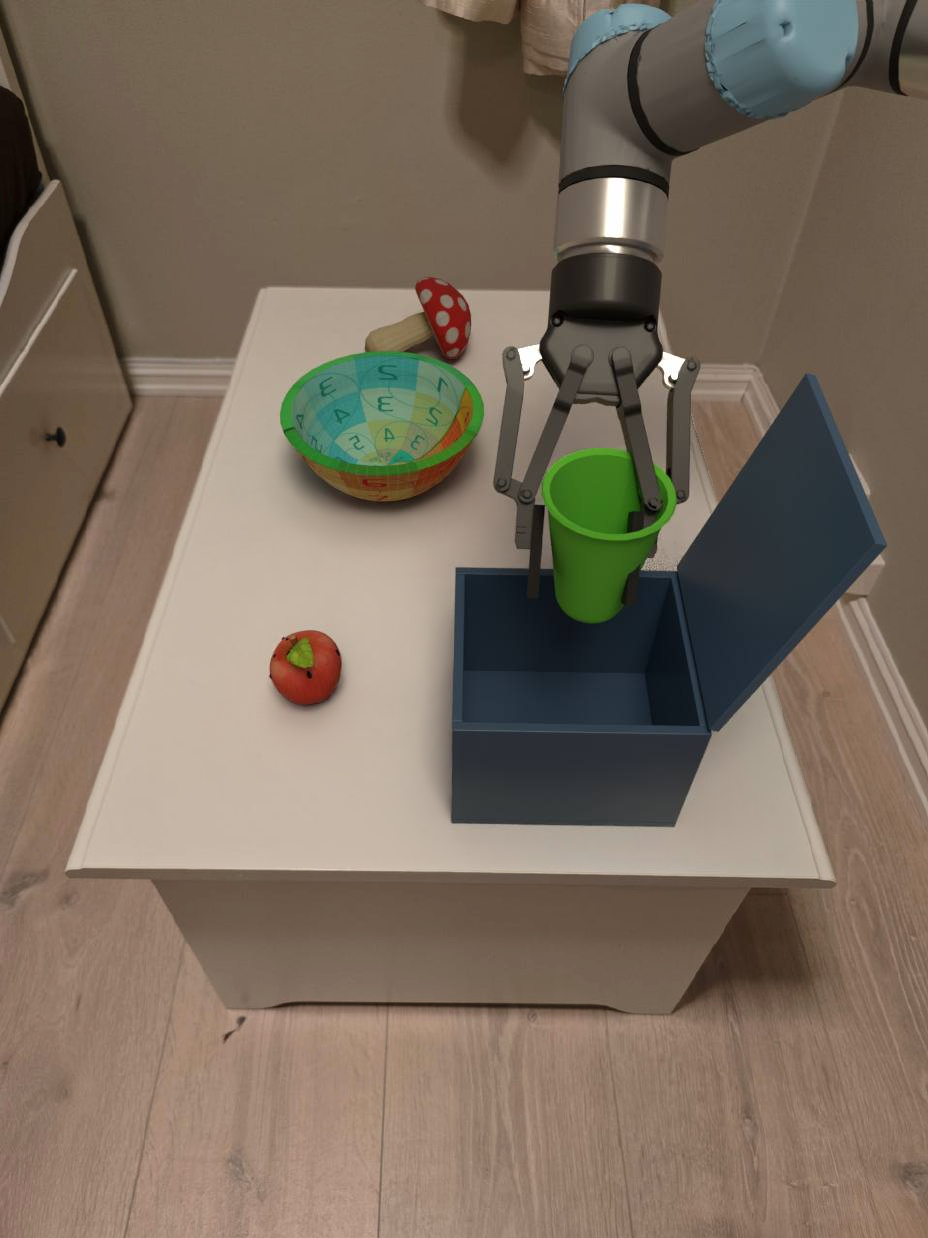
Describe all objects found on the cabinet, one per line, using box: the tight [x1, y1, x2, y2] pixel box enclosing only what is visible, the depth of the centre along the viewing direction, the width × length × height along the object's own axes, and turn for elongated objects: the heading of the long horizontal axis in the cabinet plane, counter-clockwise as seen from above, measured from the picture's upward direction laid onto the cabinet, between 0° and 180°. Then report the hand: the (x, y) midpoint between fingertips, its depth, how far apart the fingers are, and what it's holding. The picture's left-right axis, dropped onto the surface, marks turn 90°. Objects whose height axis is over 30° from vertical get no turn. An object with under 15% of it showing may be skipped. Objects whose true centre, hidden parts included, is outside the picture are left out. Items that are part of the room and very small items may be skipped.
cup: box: [540, 447, 678, 623], centre depth 64 cm, size 9×9×11 cm
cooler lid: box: [676, 372, 888, 733], centre depth 63 cm, size 20×17×1 cm
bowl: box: [279, 351, 485, 502], centre depth 101 cm, size 22×22×10 cm
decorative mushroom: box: [364, 276, 472, 360], centre depth 119 cm, size 11×11×15 cm
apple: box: [268, 629, 343, 706], centre depth 81 cm, size 8×7×10 cm
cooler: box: [450, 566, 713, 828], centre depth 76 cm, size 19×17×14 cm
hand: (580, 600), depth 63 cm, fingers closed on cup, 6 cm apart
